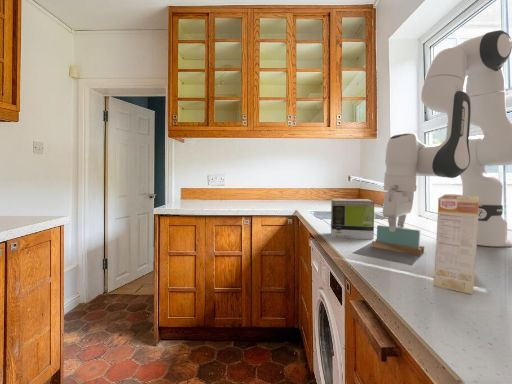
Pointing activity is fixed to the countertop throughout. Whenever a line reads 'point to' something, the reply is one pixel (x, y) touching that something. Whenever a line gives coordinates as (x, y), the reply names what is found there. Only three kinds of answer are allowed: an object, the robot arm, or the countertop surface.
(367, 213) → the tea box
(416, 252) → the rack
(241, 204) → the countertop surface
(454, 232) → the coffeecake box
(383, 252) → the mat
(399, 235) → the tile
